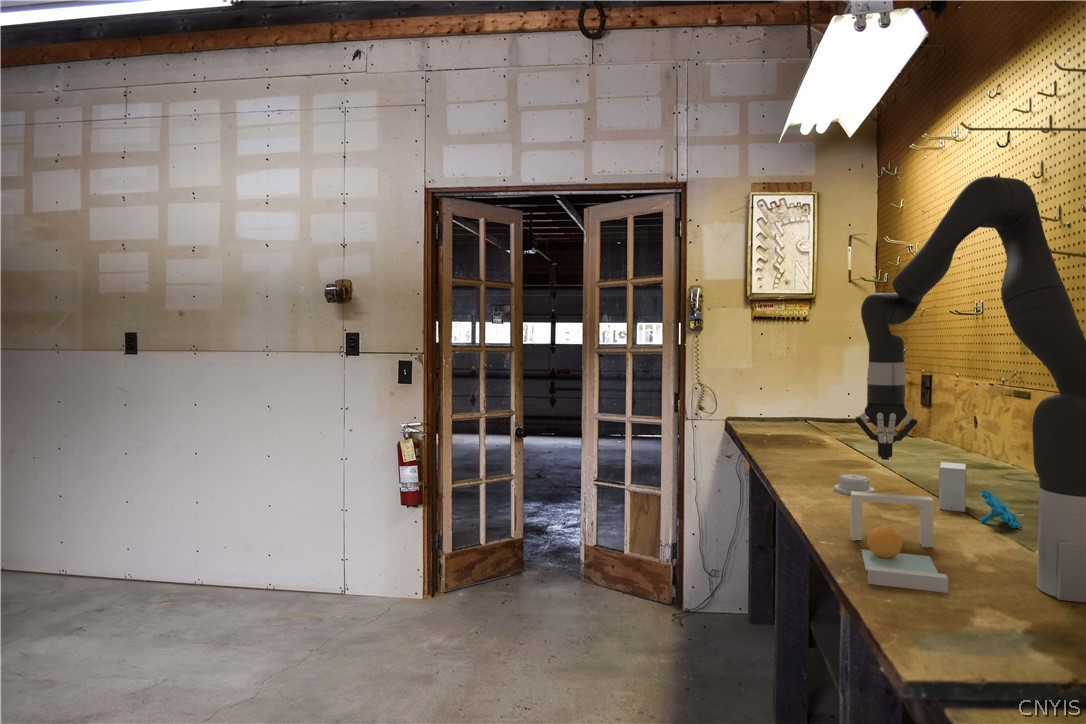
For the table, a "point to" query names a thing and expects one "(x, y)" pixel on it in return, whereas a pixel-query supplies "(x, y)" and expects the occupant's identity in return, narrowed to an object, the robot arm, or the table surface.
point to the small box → (952, 486)
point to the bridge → (923, 501)
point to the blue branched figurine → (999, 510)
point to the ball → (884, 542)
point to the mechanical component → (853, 484)
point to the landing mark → (899, 562)
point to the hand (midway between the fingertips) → (885, 459)
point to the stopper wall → (908, 579)
